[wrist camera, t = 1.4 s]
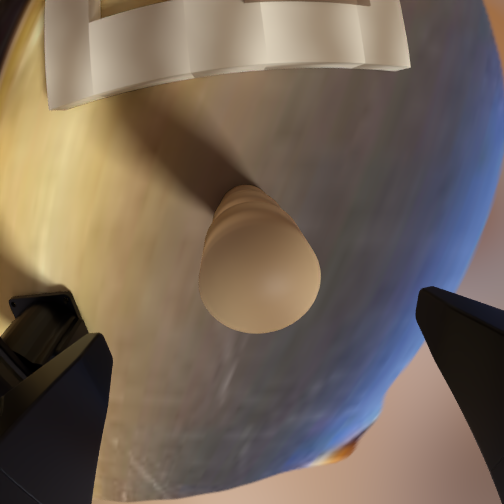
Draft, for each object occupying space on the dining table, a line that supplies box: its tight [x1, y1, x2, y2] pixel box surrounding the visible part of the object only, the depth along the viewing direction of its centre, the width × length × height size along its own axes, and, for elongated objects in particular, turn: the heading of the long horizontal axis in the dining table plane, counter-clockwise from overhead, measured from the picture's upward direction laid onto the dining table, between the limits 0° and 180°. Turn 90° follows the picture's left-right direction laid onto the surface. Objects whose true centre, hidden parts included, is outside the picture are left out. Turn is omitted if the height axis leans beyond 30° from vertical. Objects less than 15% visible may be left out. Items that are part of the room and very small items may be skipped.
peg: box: [199, 185, 321, 334], centre depth 15 cm, size 4×4×9 cm
